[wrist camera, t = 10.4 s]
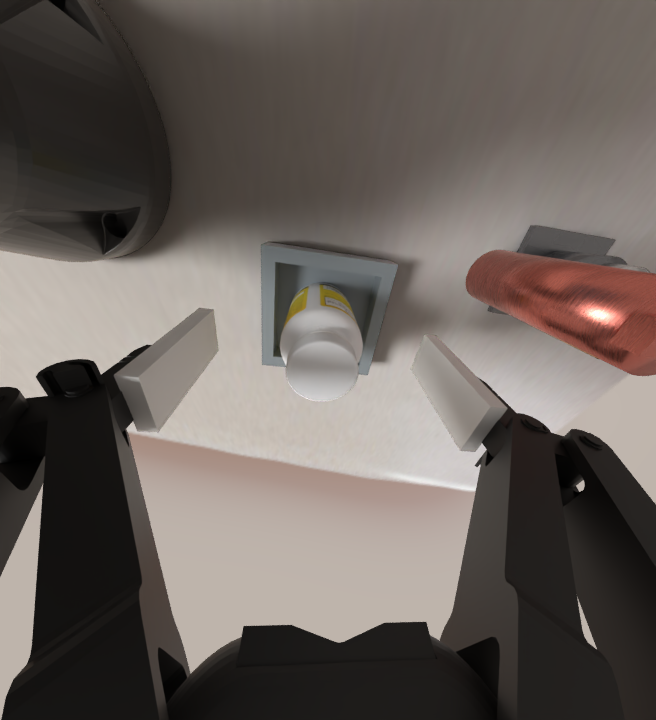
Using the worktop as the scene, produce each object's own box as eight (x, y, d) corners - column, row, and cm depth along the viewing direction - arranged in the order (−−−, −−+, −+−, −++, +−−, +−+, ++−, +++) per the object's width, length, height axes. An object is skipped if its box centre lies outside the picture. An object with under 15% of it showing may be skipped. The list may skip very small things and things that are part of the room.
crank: (635, 267, 16) (1099, 332, 6) (597, 316, 18) (915, 424, 8) (462, 238, 15) (723, 268, 5) (440, 294, 16) (604, 392, 7)
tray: (267, 351, 23) (262, 364, 21) (267, 241, 18) (261, 244, 16) (363, 361, 24) (367, 375, 22) (389, 260, 19) (398, 265, 17)
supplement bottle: (296, 343, 22) (283, 416, 14) (284, 286, 19) (257, 334, 11) (352, 335, 22) (373, 405, 14) (348, 277, 19) (370, 319, 11)
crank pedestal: (483, 319, 22) (537, 351, 17) (530, 225, 18) (623, 227, 13) (547, 327, 23) (621, 361, 17) (607, 239, 19) (727, 246, 13)
